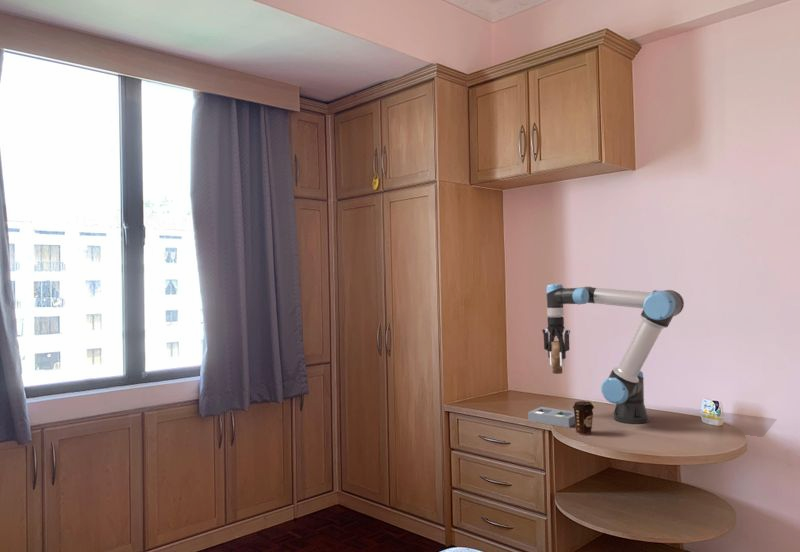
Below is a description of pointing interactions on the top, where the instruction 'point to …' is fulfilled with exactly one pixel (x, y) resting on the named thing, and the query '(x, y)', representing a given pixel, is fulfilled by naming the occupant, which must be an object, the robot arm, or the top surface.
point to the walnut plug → (556, 357)
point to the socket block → (552, 416)
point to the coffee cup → (583, 417)
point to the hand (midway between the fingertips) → (557, 365)
